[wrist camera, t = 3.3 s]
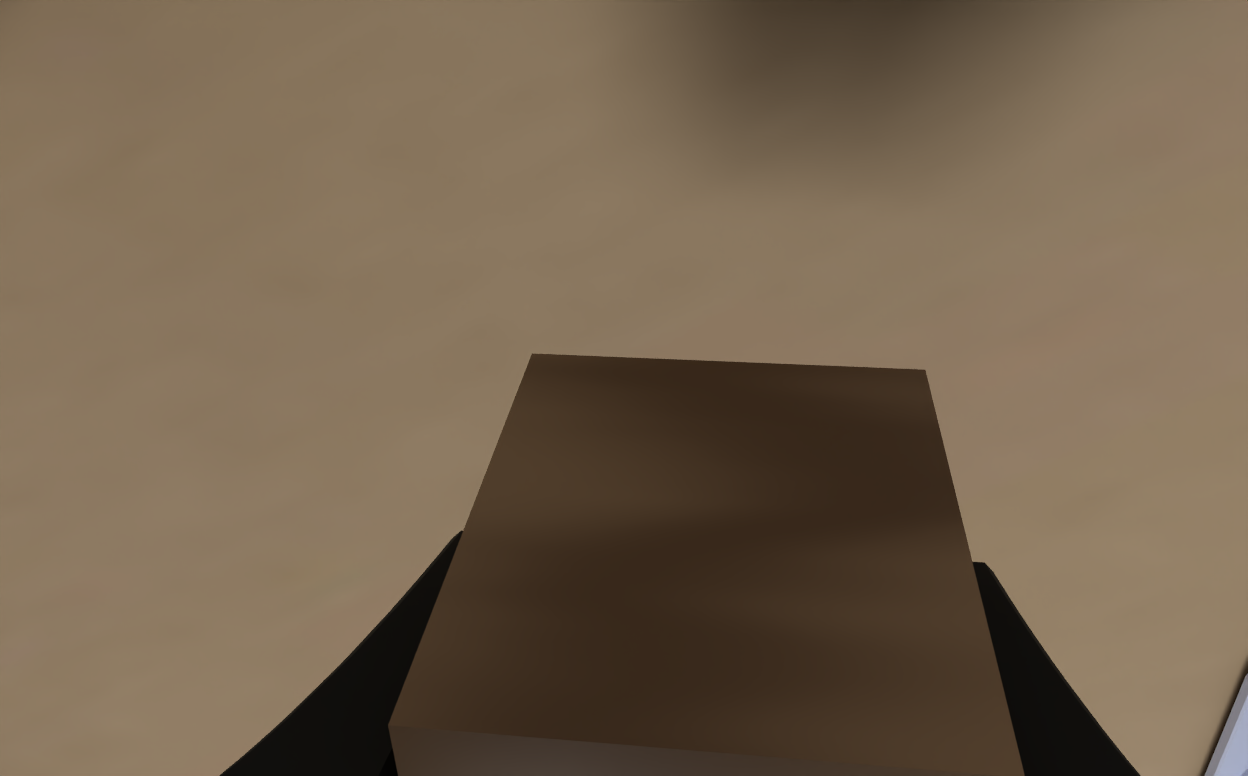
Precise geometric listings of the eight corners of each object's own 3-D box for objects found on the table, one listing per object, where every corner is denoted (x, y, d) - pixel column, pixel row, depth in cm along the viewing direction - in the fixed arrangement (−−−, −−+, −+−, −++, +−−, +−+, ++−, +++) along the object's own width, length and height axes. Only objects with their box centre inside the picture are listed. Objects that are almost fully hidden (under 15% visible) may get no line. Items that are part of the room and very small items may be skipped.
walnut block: (925, 369, 12) (1024, 777, 7) (881, 657, 14) (935, 1104, 10) (531, 353, 12) (387, 725, 8) (553, 632, 15) (453, 1047, 10)
